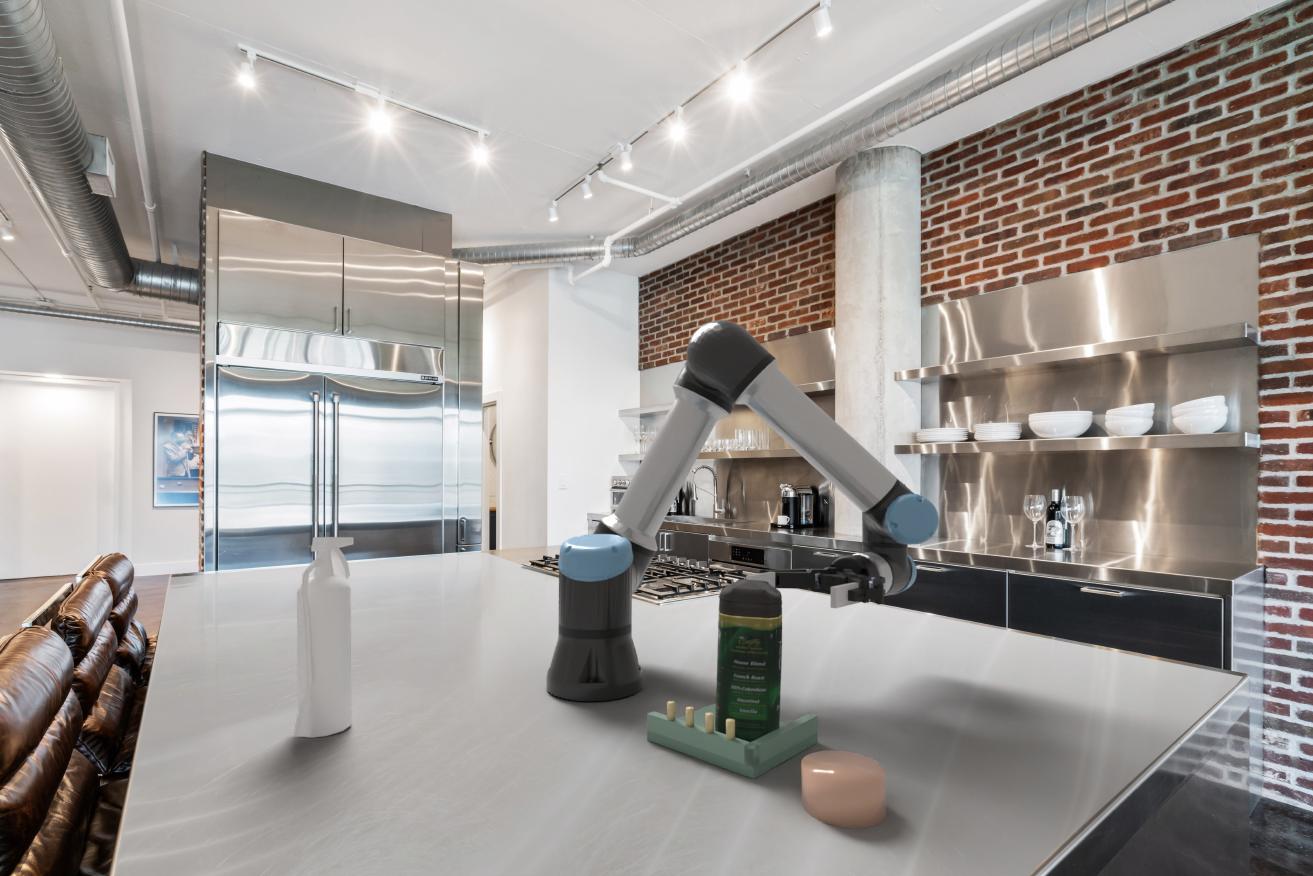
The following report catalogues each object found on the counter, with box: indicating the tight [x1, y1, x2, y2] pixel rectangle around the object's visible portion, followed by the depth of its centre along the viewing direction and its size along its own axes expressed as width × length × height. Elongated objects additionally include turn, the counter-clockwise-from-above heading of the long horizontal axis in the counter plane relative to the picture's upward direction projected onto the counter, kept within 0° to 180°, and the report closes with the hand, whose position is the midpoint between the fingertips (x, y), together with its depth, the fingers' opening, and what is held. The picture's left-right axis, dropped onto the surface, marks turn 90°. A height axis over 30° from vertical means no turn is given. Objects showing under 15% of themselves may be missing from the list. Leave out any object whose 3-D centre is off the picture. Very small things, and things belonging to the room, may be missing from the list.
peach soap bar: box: [800, 749, 887, 829], centre depth 65 cm, size 8×8×4 cm
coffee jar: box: [715, 578, 783, 742], centre depth 81 cm, size 10×8×19 cm
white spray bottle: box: [290, 536, 355, 739], centre depth 85 cm, size 7×12×25 cm, turn 176°
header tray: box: [646, 700, 819, 779], centre depth 82 cm, size 16×14×5 cm
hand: (788, 591), depth 91 cm, fingers open, 13 cm apart
